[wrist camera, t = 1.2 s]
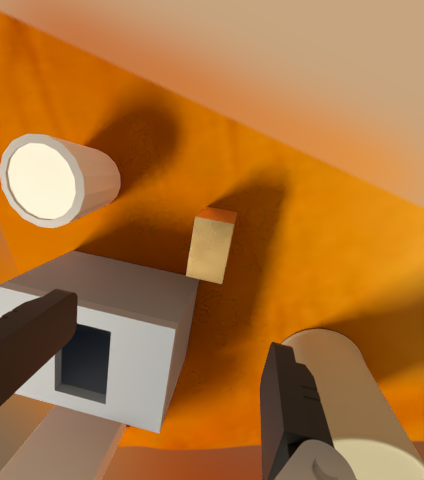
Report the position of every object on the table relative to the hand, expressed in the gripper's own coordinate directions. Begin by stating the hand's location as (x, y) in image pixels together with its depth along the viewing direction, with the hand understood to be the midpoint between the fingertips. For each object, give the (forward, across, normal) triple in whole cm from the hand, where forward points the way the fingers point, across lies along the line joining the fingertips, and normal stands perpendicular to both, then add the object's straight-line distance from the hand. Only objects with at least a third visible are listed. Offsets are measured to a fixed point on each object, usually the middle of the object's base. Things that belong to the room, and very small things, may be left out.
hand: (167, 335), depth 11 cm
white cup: (+16, +13, -3) cm, 21 cm away
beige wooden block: (+16, 0, 0) cm, 16 cm away
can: (+16, -13, +12) cm, 24 cm away
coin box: (+16, +8, +10) cm, 20 cm away
